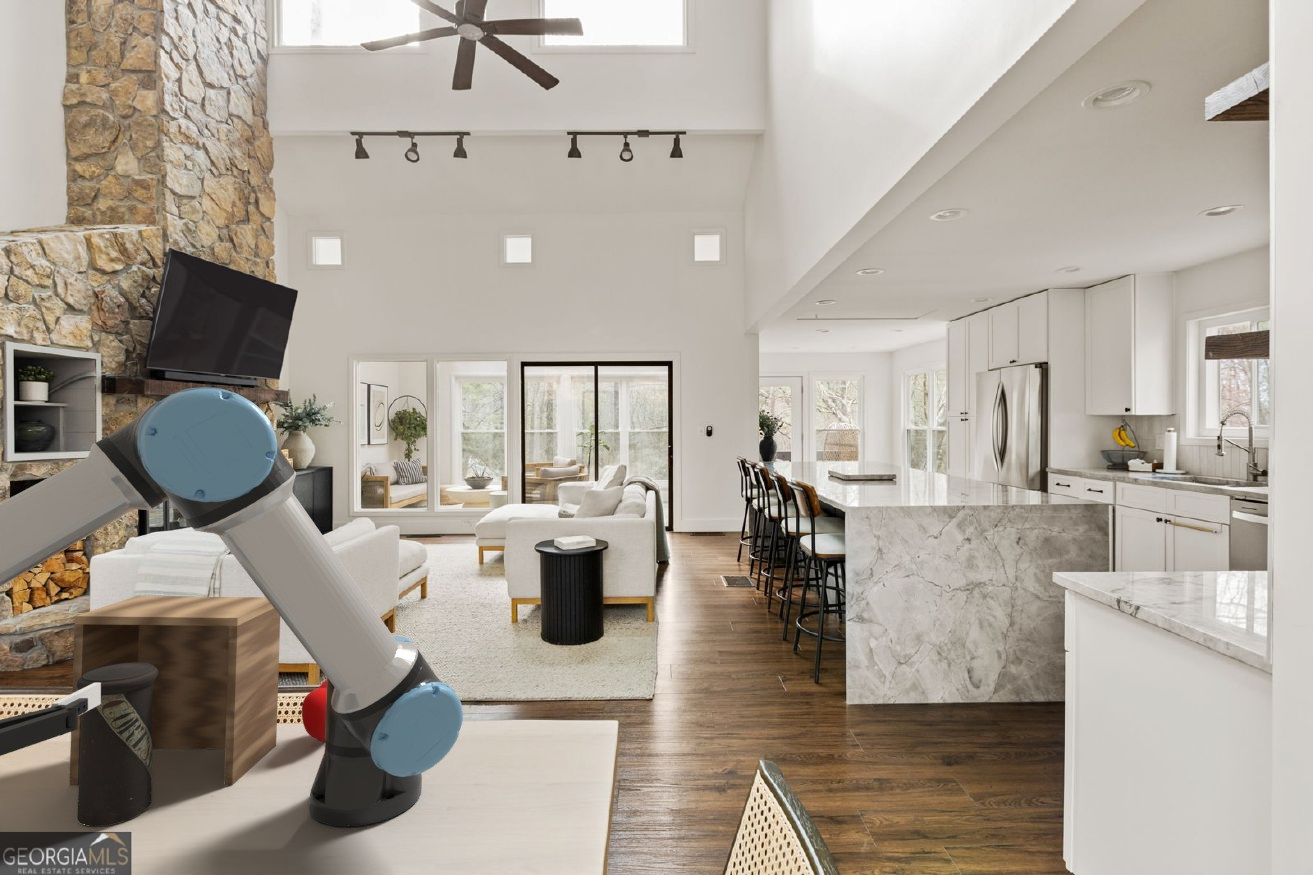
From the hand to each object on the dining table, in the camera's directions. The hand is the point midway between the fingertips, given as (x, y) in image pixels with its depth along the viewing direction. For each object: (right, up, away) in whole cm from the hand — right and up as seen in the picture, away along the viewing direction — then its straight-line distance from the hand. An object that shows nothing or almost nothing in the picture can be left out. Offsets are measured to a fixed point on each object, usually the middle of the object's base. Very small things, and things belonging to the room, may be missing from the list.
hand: (40, 694), depth 84 cm
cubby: (+1, -20, +23) cm, 30 cm away
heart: (+19, -21, +33) cm, 44 cm away
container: (+1, -20, +10) cm, 23 cm away
